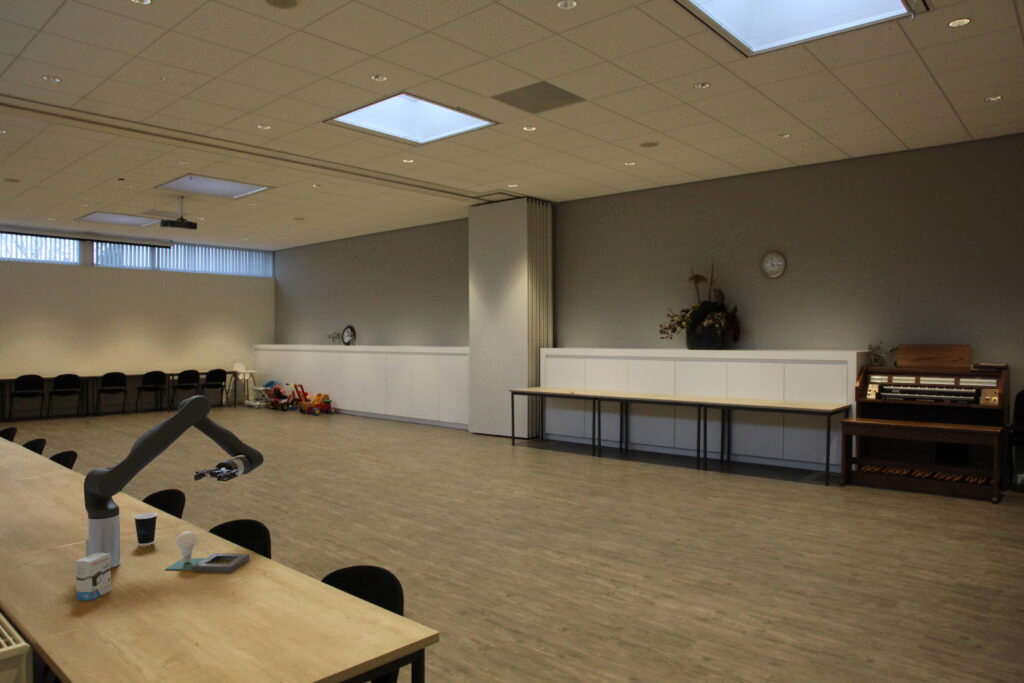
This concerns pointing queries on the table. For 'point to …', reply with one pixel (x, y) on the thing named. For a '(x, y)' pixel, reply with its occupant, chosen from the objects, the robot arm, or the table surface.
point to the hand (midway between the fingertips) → (206, 478)
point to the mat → (184, 565)
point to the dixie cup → (145, 528)
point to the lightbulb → (187, 545)
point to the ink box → (93, 576)
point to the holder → (209, 565)
